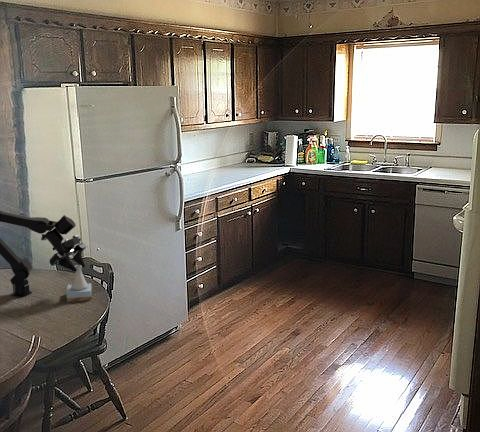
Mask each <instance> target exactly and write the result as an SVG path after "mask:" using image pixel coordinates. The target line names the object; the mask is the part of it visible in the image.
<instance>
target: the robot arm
mask: <svg viewBox="0 0 480 432" xmlns="http://www.w3.org/2000/svg"><path fill="white" fill-rule="evenodd" d="M0 222H2V223H6V224H10V225H14V226H19V227H23V228H27V229H28V230H30V231H33V232H35V233H37V234H41V238H40V240H41V241H48V242H49V244H50V245H51V246H52V250H53V251H56V253H54V254H53V255H52V256H51V257H50V259H49V261H48V262H49V264H50V265H51V267H53V266H56V265H57V266H60V267H64V268H65V269H68V270H70V271H72V272H74V273H75V272H76V271H77V269H76V268H75V266H76V265H74V264H73V262H72V261H71V259H72V260H73V261H74V262H76V264H77V265H82V267H81V268H85V267H86V264H85V261H84V258H83V251H84V250H85V249H86V248H87V245H86V244H85V243H83V242H81V240H82V238H81V236H80V235H78V234H75V235H72V238H71V239H69V238H67V237H65V238H64V237H63V235H67V234H69V233H70V232H71V231H72V230H73V229H74V228H75V227H76V226H77V224H76V222H75V221H74V220H73V219H72V218H70V217H69V216H66V215H65V214H64V215H62V216H61V217H60V219H59V220H57V221H54V220H50V219H48V218H47V217H41V216H37V217H35V216H34V217H30V216H24V215H19V214H15V213H11V212H6V211H3V210H0ZM0 256H1V257H2V258H3V259H4V260H5V261H6V262H7V264H8V265H9V266H10V268H11V271H12V273H13V274H14V275H13V276H12V277H11V279H10V283H11V285H12V291H13V292H12V293H10V296H13V297H18V298H23V297H25V296H28V295H30V294H32V293H33V291H32V290H30V283H29V280H28V278H29V276H30V275H31V274H32V272H33V266H32V262H29V259H27V257H24V258H23V259H22V258H21V257H19V256H18V255H17V254H16V253H15V252H14V251H13V250H12V249H11V248H10V247H9V246H8V244H7V243H5V241H4V240H3V239H2V238H1V237H0ZM70 256H72V258H71V259H70Z"/></svg>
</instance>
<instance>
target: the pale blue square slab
mask: <svg viewBox="0 0 480 432" xmlns="http://www.w3.org/2000/svg"><path fill="white" fill-rule="evenodd" d="M86 283H87V285H88V286H87V288H86V289H84V290H72V289H71V286H72V283H71V284H67V288H66V292H65V293H66V299H67V298H79V297H91V298H92V290H93V289H92V288H93V287H92V283H91V282H89V283H88V282H86Z"/></svg>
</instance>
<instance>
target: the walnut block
mask: <svg viewBox="0 0 480 432" xmlns="http://www.w3.org/2000/svg"><path fill="white" fill-rule="evenodd" d="M81 301H82V302H83V301H84V302H85V301H92V296H91V297H79V298H67V297H66V302H67V303H71V302H81Z"/></svg>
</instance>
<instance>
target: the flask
mask: <svg viewBox="0 0 480 432" xmlns="http://www.w3.org/2000/svg"><path fill="white" fill-rule="evenodd" d="M74 266H75V268H76V269H77V271H76V272H74V277H73V280H72V283H71V284H72V286H71V289H72V290H84V289H86V288H87V286H88V285H87V283H88V282H87V281H86V279H85V277H84V274H83V272H82V268H83V267H82V265H79V264H76V265H74Z"/></svg>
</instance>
